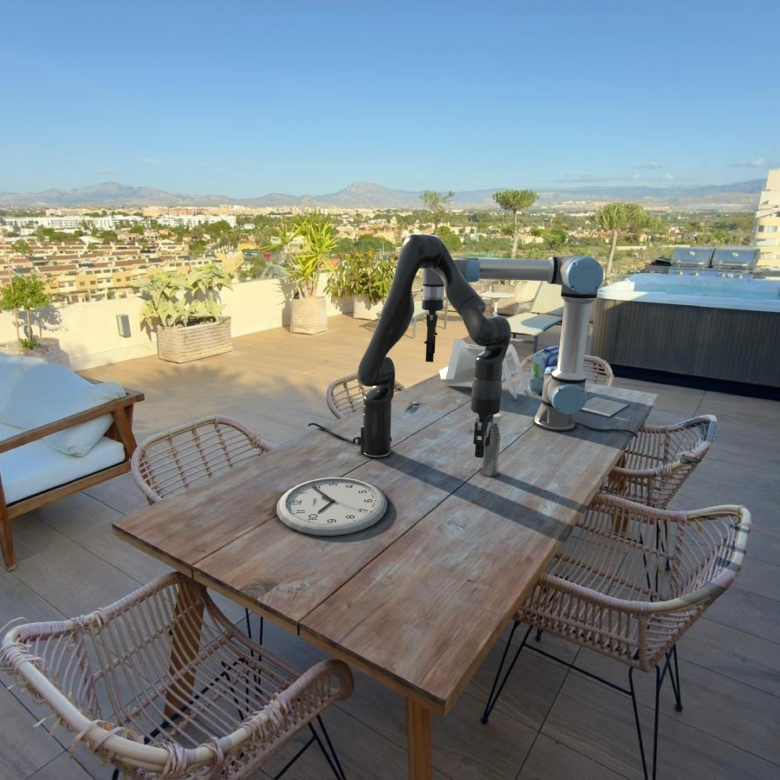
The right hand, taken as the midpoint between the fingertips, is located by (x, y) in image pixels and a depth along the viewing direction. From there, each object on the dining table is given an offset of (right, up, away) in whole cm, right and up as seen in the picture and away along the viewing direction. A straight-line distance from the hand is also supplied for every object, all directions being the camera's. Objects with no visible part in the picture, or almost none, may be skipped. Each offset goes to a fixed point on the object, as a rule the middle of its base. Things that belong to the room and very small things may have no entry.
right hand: (430, 357), depth 190 cm
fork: (-5, -19, +33) cm, 39 cm away
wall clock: (-30, -43, -47) cm, 71 cm away
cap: (+17, -20, -32) cm, 41 cm away
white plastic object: (+27, -13, +54) cm, 61 cm away
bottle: (+17, -38, -26) cm, 49 cm away
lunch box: (+61, -12, +58) cm, 85 cm away
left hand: (+10, -28, -49) cm, 57 cm away
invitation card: (+77, -19, +37) cm, 87 cm away
